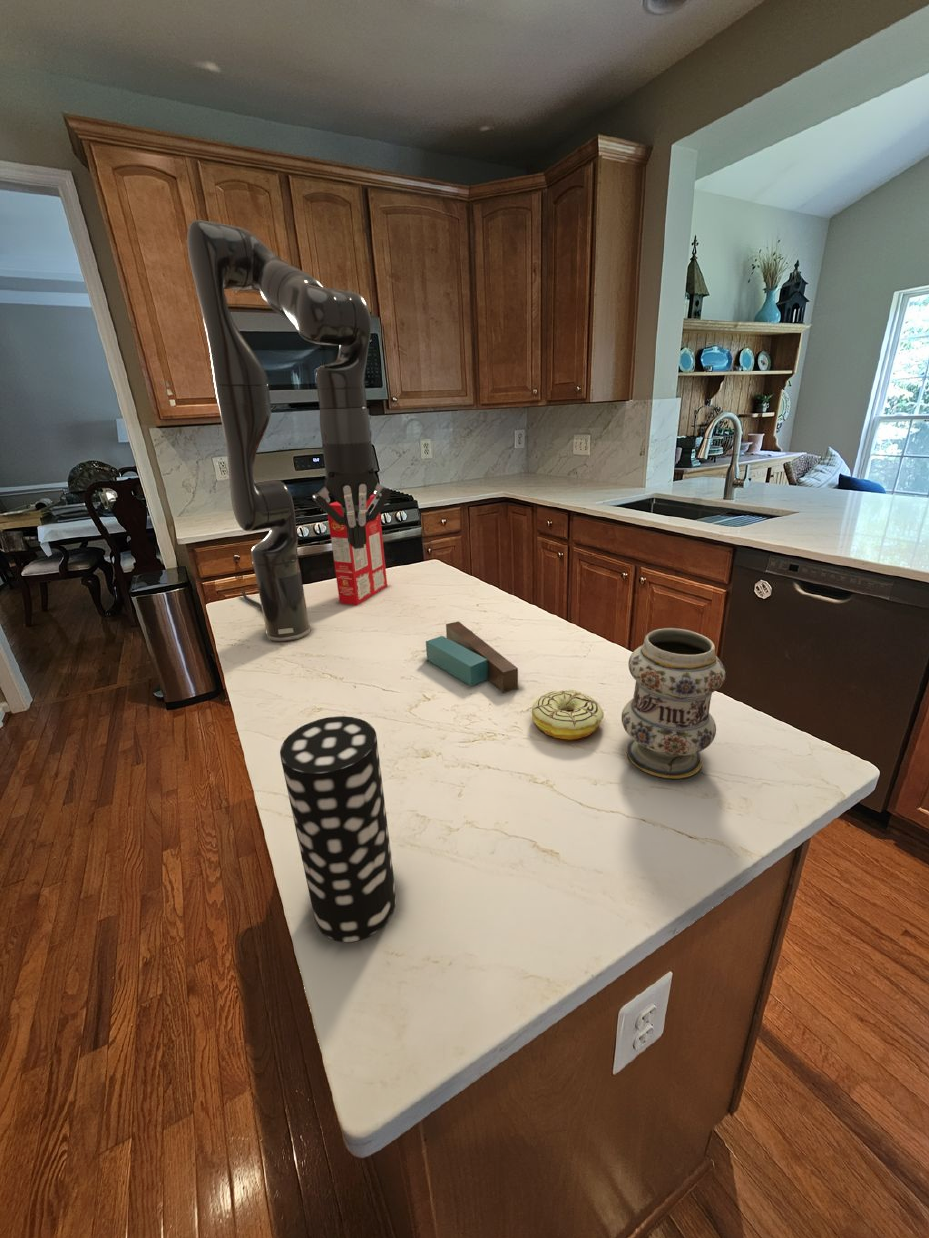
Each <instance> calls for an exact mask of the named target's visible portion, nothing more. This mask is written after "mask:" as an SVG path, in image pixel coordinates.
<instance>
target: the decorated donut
mask: <svg viewBox="0 0 929 1238" xmlns="http://www.w3.org/2000/svg"><path fill="white" fill-rule="evenodd" d="M531 714H532V718H533V719H532V720H533V721H534V723H535V725H536V726H537V728H538V729H539V730H540V731H542V732H544V733H545V734H546V735H548V736H550V737H552V738H555V739H560V740H568V741H573V740H578V739H582V738H585V737H589V736H590V735H591V734H593V733H594V732H595V731H596V730H597V729H598V727H600V723H601V721H602V720H603V719H604V716H605V714H604V711H603V709H602V707H601V705H600V703H598V702H597V701H596V699H594V698H592V697H591V696H589V695H588V694H586V693H582V692H580V691H577V690H575V689H573V690H571V689H569V690H567V689H566V690H558V691H550V692H547V693H546V694H545V693H544V694H543V695H540V696H539V697H538V698H537V699H535V701H534V702H533V703H532V709H531Z"/></svg>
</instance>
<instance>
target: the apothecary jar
mask: <svg viewBox="0 0 929 1238" xmlns="http://www.w3.org/2000/svg"><path fill="white" fill-rule="evenodd" d="M643 640H644V641H643V644H642V645H640V646H638V647H637V648H636V649H634V651H633V652H631V654H630V656H629V659H628V670H629V673H630V675H631V676H632V678H633V680H635V686H634V690H633V691H634V693H633V697H632V698H631V699H630V700H628V702H627V703H626V704H625V706H624V707H623V709H622V712H621V724H622V727H623V730H624V731H625V732H626V733H627V735H628V736H629V737H630V738H631V739H632V740H631V741H630V742H629V743H628V744H627V748H626V754H627V757H628V759H629V760H630V761H631V763H632V764H633V765H634V766H635V767H636V768H638V769H639V770H641V771H643V772H645V773H647V774H649V775H651V776H653V777H658V778H662V779H670V780H677V779H678V780H679V779H685V778H689V777H691V776H693V775H695V774H697V773H698V772H699V771H700V770H701V768H702V765H703V764H702V763H703V760H702V757H701V755H700V752H702V751H704V750H705V749H707V748H708V747H709V746H711V744H712V743H713V742H714V740H715V737H716V734H717V725H716V722H715V719H714V717H713V716H712V714H711V713H710V707H711V701H712V695H713V693H714V692H716V691H718V690H719V689H720V688H721V687H722V685H723V684H724V683H725V680H726V669H725V666H724V664H723V663H722V661H721V660H720V658H719V657H718V656H717V655H716V646H715V644H714V642H713V641H712V640H711V639H710V638H709V637H707V636H705V635H703V634H700V633H698V632H695V631H693V630H688V629H683V628H675V627H664V628H658V629H654V630H651V631H649V632H647V633H646V635H645V637H644V639H643Z"/></svg>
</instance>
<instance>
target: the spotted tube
mask: <svg viewBox="0 0 929 1238" xmlns="http://www.w3.org/2000/svg"><path fill="white" fill-rule="evenodd" d="M379 753H380V752H379V745H378V737H377V732H376V730H375V728H374V727H373V725H372V724H371V723H369V722H368V721H366V720H364V719H362V718H358V717H353V716H346V715H344V716H343V715H341V716H339V715H337V716H329V717H324V718H319V719H315V720H313V721H310V722H308V723H306V724H304V725H301V726H300V727H298V728H297V729H295V730H294V731H292V732H291V733H290V734H288V736H287V737H286V738H285V739H284V741H283V742H282V744H281V746H280V750H279V756H280V762H281V766H282V771H283V775H284V780H285V781H284V782H285V785H286V790H287V795H288V799H289V804H290V808H291V814H292V818H293V819H292V820H293V822H294V829H295V834H296V837H297V842H298V847H299V852H300V856H301V857H300V858H301V860H302V861H301V862H302V866H303V870H304V875H305V881H306V885H307V890H308V895H309V899H310V903H311V909H312V914H313V917H314V922H315V925H316V927H317V929H318V931H320V932H321V934H323V936H325V937H327V938H329V939H331V940H333V941H335V942H340V943H352V942H356V941H362V940H364V939H366V938H369V937H371V936H372V935H374V934H376V933H377V932H379V931H380V930H381V929H383V928H384V926H385V925H386V924H387V923H388V922H389V920H390V919H391V917H392V916H393V914H394V911H395V908H396V906H397V905H396V904H397V892H396V882H395V874H394V867H393V859H392V851H391V843H390V834H389V826H388V819H387V818H388V817H387V809H386V801H385V794H384V785H383V778H382V770H381V761H380V754H379Z"/></svg>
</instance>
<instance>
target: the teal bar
mask: <svg viewBox="0 0 929 1238" xmlns="http://www.w3.org/2000/svg"><path fill="white" fill-rule="evenodd" d="M425 649H426V660H427V661H429V662H430V663H432V664H433V665H435V666H437V667H439V668H440V669H442V670H443V671H445V672H446V673H448V674H450V675H451V676H453V677H455V678H457V679H458V680H460V681H462V682H463V683H465V684H467V685H468V686H470V687H473V686H475V685H477V684H480V683H482V682H484V681H486V680H489V679H488V660H487V659H485V658H483V657H482V656H480V655H478V654H476V653H474V652H472V651H470V650H468V649H466V648H464V647H463V646H461V645H459V644H457V643H455V642H453V641H451V640H449V639H447V636H444V635H440V636H437V637H434V638H431V639H428V640H426V641H425Z"/></svg>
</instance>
